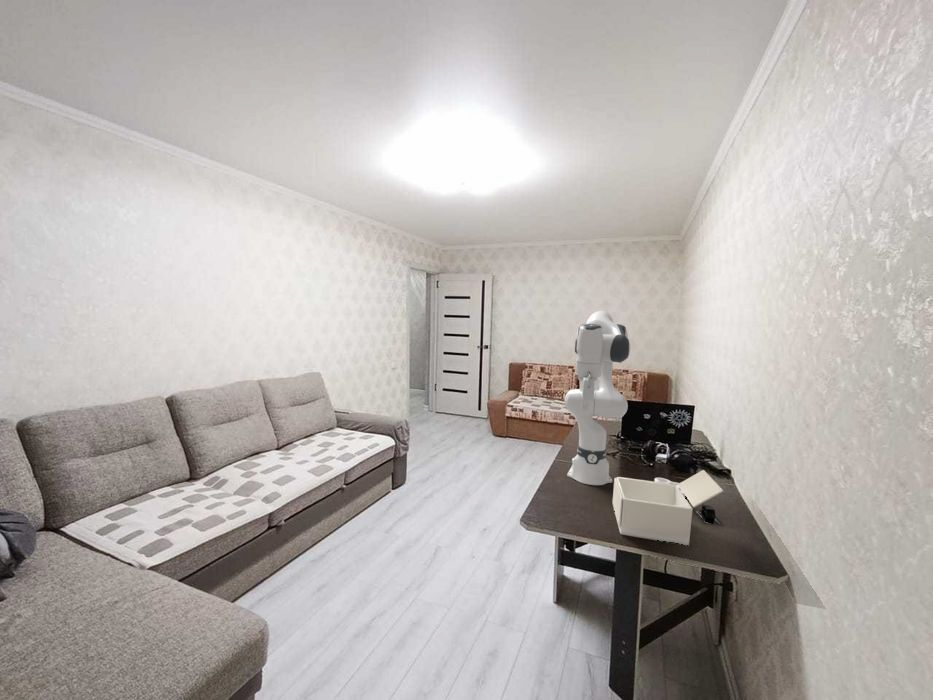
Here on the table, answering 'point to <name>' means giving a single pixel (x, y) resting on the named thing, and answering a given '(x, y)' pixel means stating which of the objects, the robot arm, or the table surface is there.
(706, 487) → the carton flap
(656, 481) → the spiked knuckle duster
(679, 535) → the carton
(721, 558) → the table surface
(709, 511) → the black angular piece
